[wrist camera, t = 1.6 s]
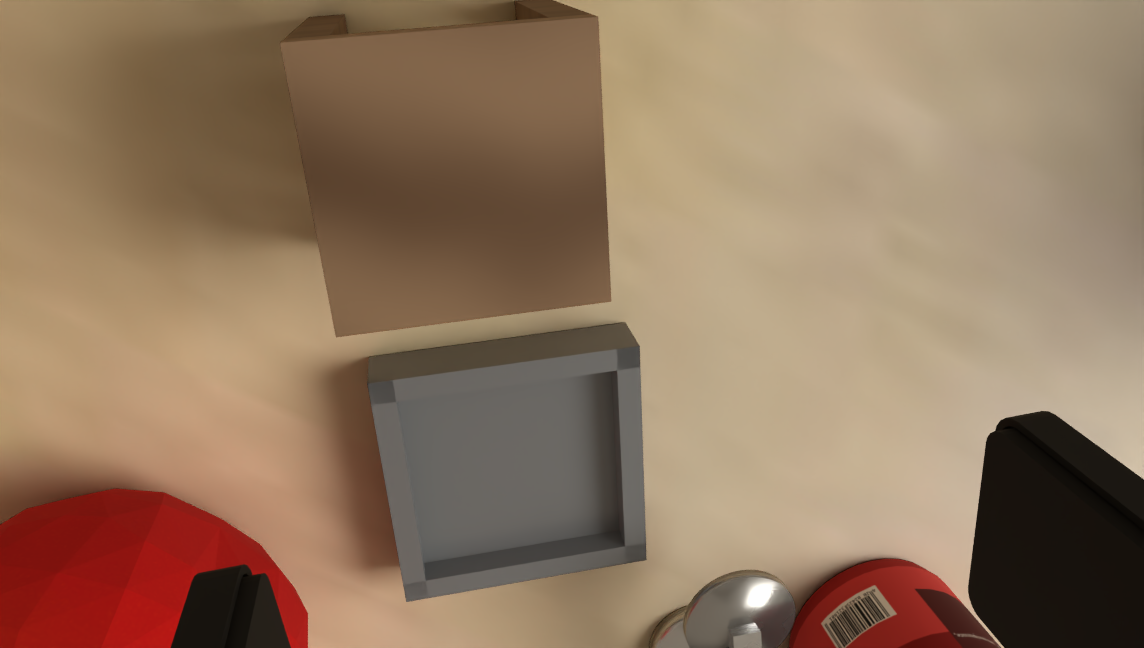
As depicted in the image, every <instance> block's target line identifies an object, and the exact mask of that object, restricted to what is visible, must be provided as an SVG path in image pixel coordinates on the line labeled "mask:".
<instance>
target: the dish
mask: <svg viewBox="0 0 1144 648" xmlns="http://www.w3.org/2000/svg"><path fill="white" fill-rule="evenodd" d="M367 385H368V390H369V396H370V401H371V407H372V412H373V418H374V424H375V429H376V435H377V440H378V446H379V452H380V457H381V463H382V468H383V474H384V479H385V485H386V491H387V496H388V502H389V507H390V513H391V519H392V524H393V530H394V535H395V541H396V547H397V552H398V558H399V563H400V569H401V574H402V580H403V586H404V591H405V597H406V602H409V601H414V600H420V599H426V598H432V597H437V596H443V595H449V594H454V593H460V592H466V591H472V590H477V589H483V588H489V587H494V586H500V585H506V584H512V583H517V582H523V581H529V580H535V579H540V578H546V577H552V576H557V575H563V574H569V573H575V572H580V571H586V570H592V569H597V568H603V567H609V566H615V565H620V564H626V563H632V562H637V561H643V560H646V532H645V501H644V470H643V439H642V407H641V376H640V346H639V344H638V343H637V341H636V339H635V338H634V336H633V334H632V333H631V331H630V330H629V328H628V326H627V325H626V323H618V324H611V325H603V326H596V327H588V328H581V329H573V330H566V331H559V332H551V333H544V334H536V335H529V336H521V337H514V338H506V339H499V340H491V341H484V342H476V343H469V344H461V345H454V346H447V347H439V348H432V349H424V350H417V351H409V352H402V353H394V354H387V355H379V356H372V357H369V365H368V381H367Z"/></svg>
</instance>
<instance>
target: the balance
mask: <svg viewBox="0 0 1144 648" xmlns="http://www.w3.org/2000/svg"><path fill="white" fill-rule="evenodd" d="M794 619H795V604H794V601H793V598H792V596H791V594H790V593H789V591H788V590H787V588H786V586H785V585H784V584H783V582H782V581H781V580H779V579H778V578H777V577H775V576H774V575H772V574H769V573H767V572H763V571H758V570H742V571H736V572H732V573H729V574H726V575H723V576H721V577H719V578H717V579H715V580H713V581H711V582H710V583H709V584H707V585H706V586H704V587H703V588H702V589H701V590H700V591H699V592H698V593H697V594H696V595H695V596H694V598H693V599H692V600H691V602H690V604H689V605H688V606H686V607H683V608H681V609H678V610H676V611H675V612H673V613H671V614H670V615H668V616H667V617H666V618H665V619H664V620H662V621H661V623H660V624H659V625H658V626H657V627H656V629H655V630H654V632H653V634H652V637H651V640H650V646H649V648H777V647H778V646H779V645H780V644H781V643H782V642H783V641H784V640H785V638H786V637H787V636H788V634H789V632H790V630H791V628H792V626H793V623H794Z"/></svg>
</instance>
